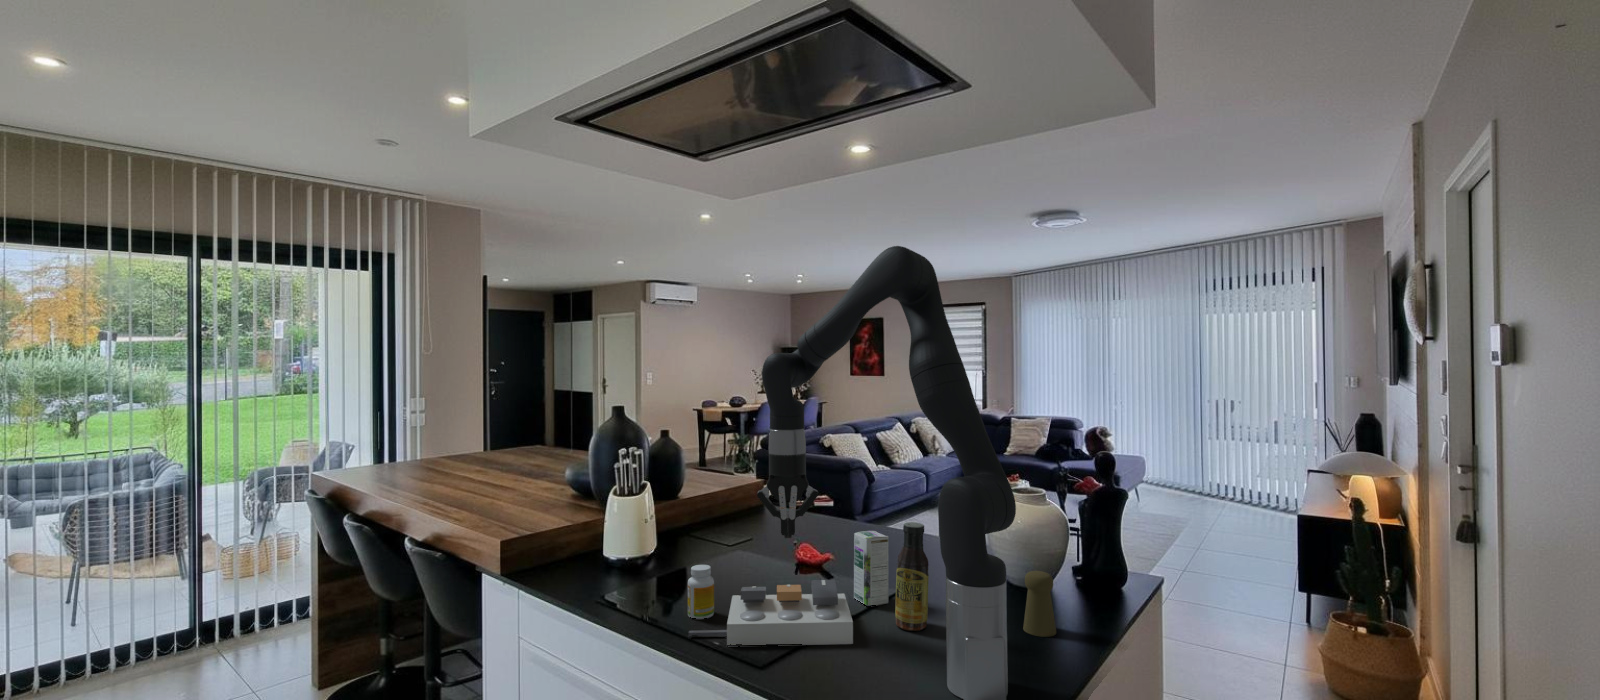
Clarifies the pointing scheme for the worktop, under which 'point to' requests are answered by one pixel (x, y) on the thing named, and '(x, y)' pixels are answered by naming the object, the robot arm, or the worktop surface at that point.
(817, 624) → the power strip
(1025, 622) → the yellow pepper mill
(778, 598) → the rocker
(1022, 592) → the worktop surface
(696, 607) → the supplement bottle
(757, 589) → the block
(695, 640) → the worktop surface
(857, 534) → the syrup box
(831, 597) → the block
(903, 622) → the sauce bottle
